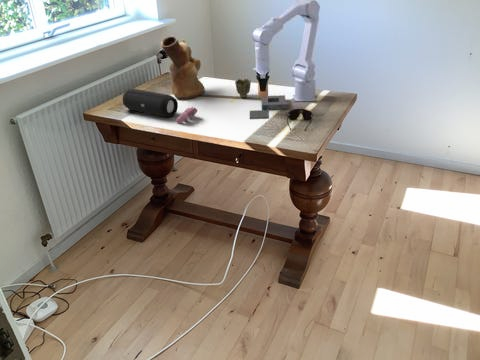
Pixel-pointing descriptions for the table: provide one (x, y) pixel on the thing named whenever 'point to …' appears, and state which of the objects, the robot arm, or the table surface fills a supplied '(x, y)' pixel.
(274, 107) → the housing
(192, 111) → the pink elongated curved piece
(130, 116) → the table surface
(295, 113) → the sunglasses
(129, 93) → the portable speaker
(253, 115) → the mat
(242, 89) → the cup
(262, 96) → the tapered peach cylinder
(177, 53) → the ceramic vessel
